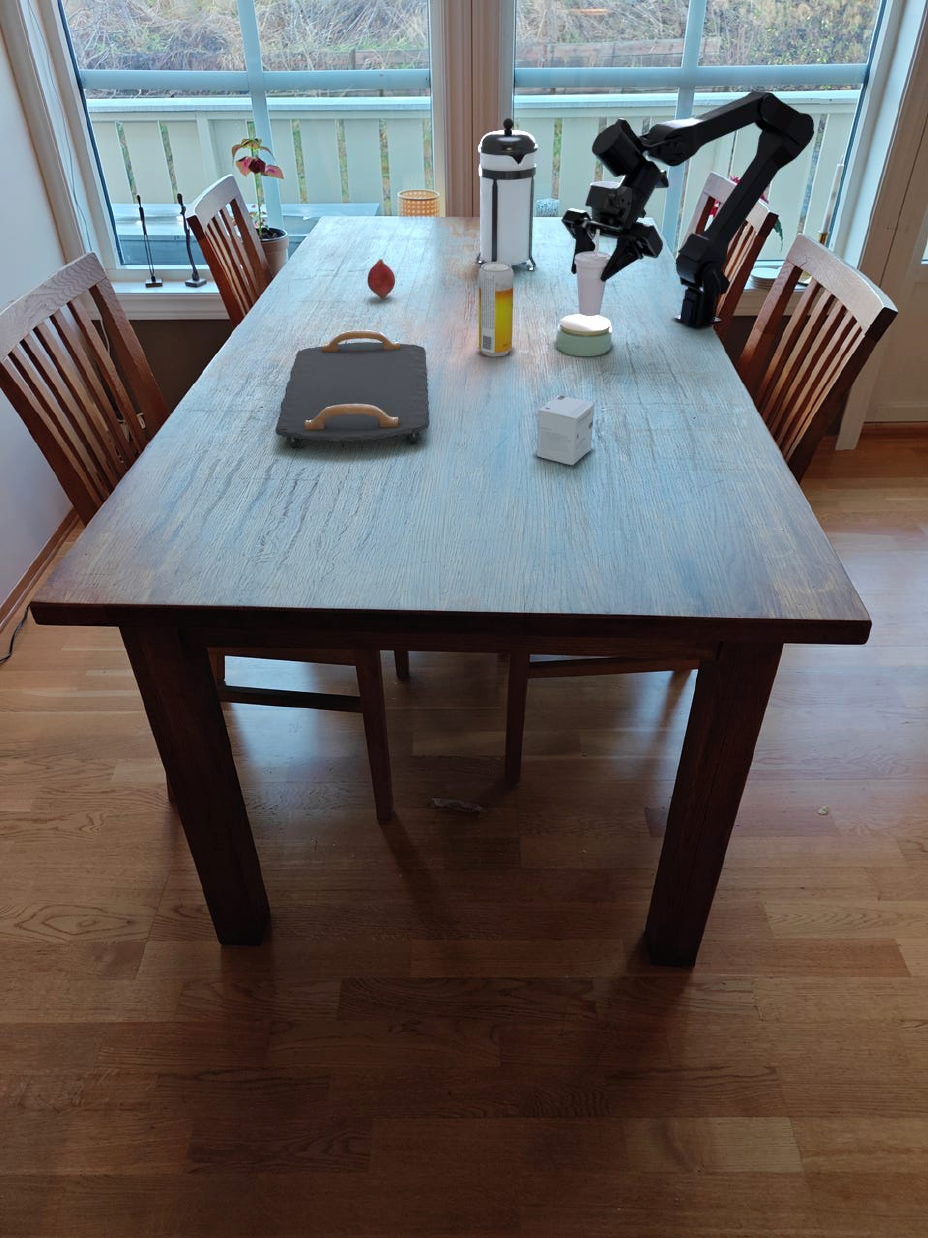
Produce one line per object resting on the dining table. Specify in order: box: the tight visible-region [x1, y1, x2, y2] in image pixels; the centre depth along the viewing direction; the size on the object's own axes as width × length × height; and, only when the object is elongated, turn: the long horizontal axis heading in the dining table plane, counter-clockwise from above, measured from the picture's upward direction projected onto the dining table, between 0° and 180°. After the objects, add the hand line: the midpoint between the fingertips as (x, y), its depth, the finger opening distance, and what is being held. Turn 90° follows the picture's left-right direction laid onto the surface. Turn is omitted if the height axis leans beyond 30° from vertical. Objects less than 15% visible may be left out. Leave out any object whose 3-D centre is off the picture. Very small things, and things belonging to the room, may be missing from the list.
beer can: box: [478, 262, 515, 357], centre depth 149 cm, size 6×6×15 cm
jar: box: [555, 314, 613, 357], centre depth 154 cm, size 10×10×4 cm
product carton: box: [536, 394, 595, 466], centre depth 120 cm, size 6×6×7 cm
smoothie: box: [574, 229, 612, 316], centre depth 146 cm, size 6×6×14 cm
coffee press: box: [475, 117, 539, 271], centre depth 188 cm, size 17×16×30 cm
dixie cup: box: [589, 180, 620, 222], centre depth 217 cm, size 8×8×11 cm
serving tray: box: [275, 329, 430, 449], centre depth 135 cm, size 39×23×6 cm, turn 3°
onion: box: [367, 258, 396, 299], centre depth 176 cm, size 6×6×8 cm
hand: (587, 276), depth 145 cm, fingers closed on smoothie, 6 cm apart
